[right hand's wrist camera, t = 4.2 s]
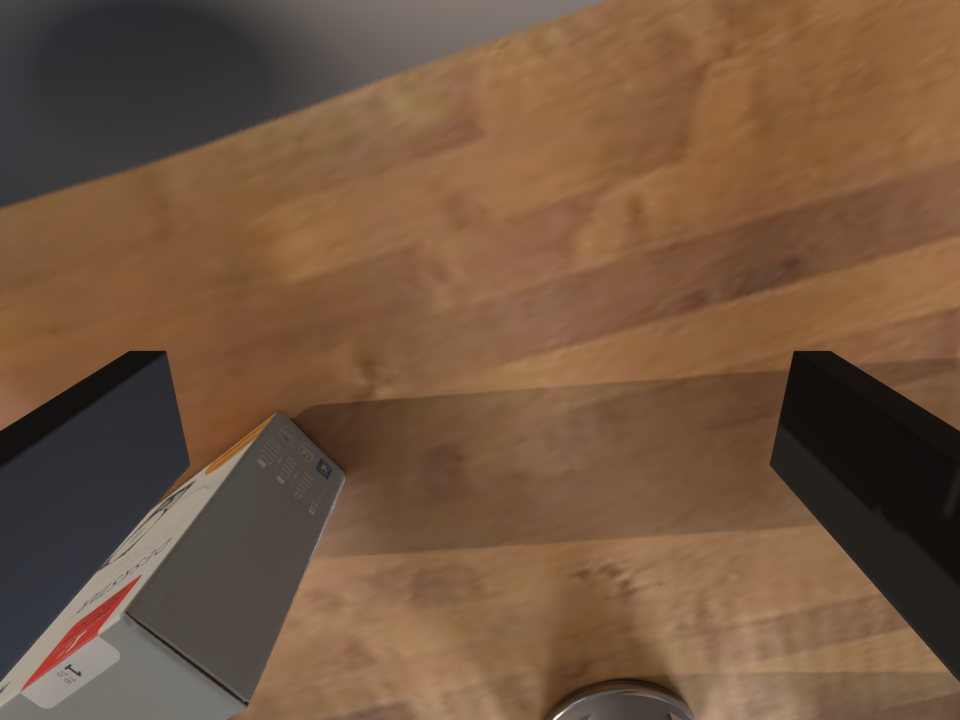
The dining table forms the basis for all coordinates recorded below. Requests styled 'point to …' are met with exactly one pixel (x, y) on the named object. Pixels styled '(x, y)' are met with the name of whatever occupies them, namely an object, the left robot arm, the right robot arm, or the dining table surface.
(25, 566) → the right robot arm
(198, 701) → the hard drive box
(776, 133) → the dining table surface
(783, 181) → the dining table surface
